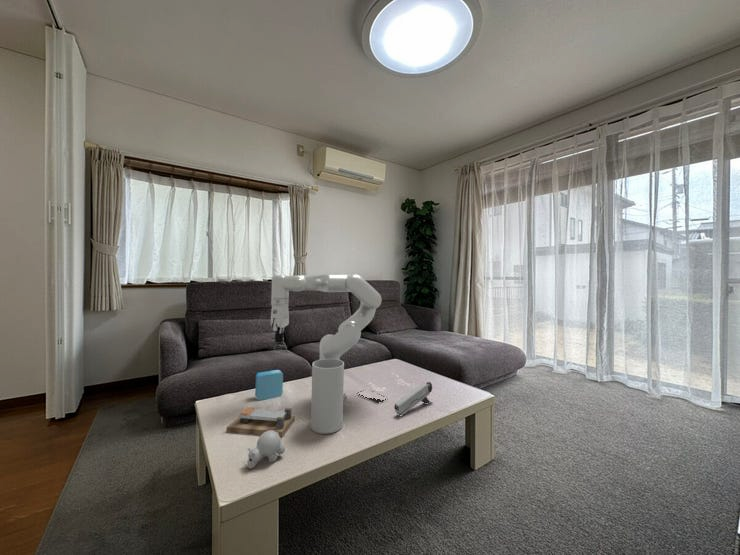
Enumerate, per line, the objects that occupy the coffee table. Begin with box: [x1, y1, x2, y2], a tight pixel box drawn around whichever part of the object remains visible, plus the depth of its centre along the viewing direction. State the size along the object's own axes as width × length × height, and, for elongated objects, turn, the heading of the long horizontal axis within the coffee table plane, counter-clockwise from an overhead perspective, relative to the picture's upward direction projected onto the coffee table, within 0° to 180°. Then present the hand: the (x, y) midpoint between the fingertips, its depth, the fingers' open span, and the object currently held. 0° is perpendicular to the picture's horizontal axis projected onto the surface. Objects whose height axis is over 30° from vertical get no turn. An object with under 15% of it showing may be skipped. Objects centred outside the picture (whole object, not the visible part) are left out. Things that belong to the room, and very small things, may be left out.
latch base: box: [225, 407, 296, 438], centre depth 109 cm, size 22×12×6 cm, turn 84°
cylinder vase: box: [310, 359, 345, 435], centre depth 111 cm, size 12×12×25 cm
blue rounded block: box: [254, 369, 284, 401], centre depth 136 cm, size 12×4×12 cm, turn 122°
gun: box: [393, 381, 433, 416], centre depth 127 cm, size 2×25×10 cm, turn 131°
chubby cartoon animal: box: [243, 430, 286, 470], centre depth 89 cm, size 7×12×8 cm, turn 135°
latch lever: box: [239, 406, 287, 421], centre depth 109 cm, size 17×5×2 cm, turn 84°
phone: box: [356, 389, 386, 404], centre depth 139 cm, size 8×1×15 cm
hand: (279, 341), depth 127 cm, fingers closed
